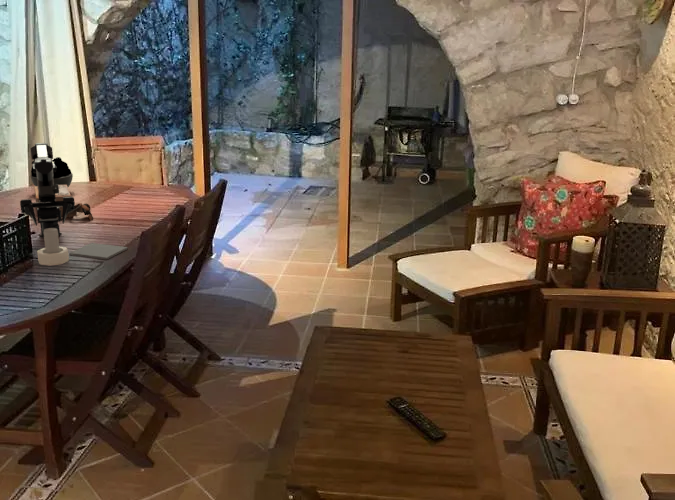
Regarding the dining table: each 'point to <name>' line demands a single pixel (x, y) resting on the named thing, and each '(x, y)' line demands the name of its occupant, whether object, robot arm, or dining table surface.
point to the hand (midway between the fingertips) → (49, 224)
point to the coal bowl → (57, 173)
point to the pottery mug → (81, 210)
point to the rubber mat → (98, 251)
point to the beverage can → (51, 240)
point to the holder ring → (53, 257)
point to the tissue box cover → (57, 195)
